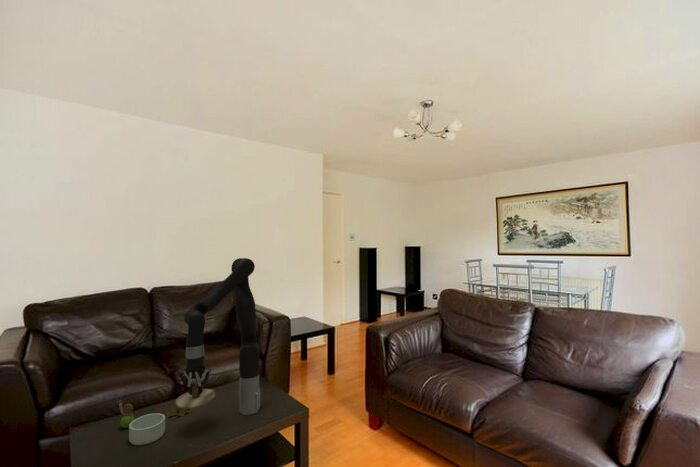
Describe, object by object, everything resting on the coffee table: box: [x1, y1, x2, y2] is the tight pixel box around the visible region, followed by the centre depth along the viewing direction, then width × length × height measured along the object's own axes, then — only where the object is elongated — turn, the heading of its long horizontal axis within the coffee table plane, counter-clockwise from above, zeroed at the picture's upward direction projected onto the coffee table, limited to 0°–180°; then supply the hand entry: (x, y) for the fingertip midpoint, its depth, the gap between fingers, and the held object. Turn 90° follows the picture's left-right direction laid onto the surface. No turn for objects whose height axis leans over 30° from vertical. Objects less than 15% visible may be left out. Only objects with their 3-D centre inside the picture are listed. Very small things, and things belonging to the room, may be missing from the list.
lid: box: [175, 383, 216, 409], centre depth 146 cm, size 16×16×6 cm
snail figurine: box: [118, 399, 136, 429], centre depth 148 cm, size 5×6×12 cm
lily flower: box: [165, 405, 192, 420], centre depth 159 cm, size 12×12×5 cm
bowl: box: [128, 412, 166, 446], centre depth 140 cm, size 13×13×6 cm
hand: (195, 393), depth 146 cm, fingers closed on lid, 3 cm apart
